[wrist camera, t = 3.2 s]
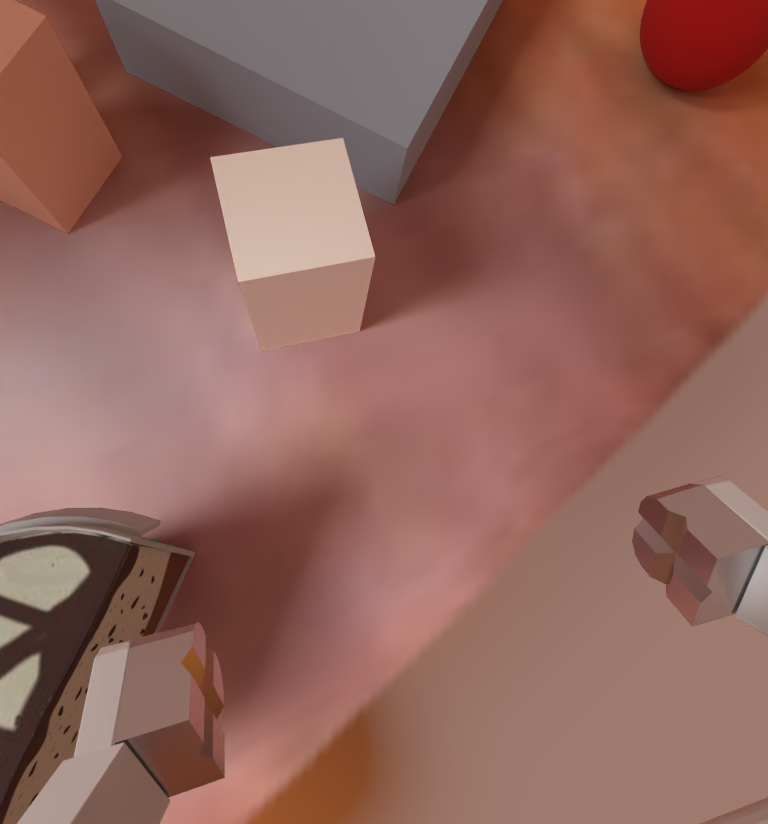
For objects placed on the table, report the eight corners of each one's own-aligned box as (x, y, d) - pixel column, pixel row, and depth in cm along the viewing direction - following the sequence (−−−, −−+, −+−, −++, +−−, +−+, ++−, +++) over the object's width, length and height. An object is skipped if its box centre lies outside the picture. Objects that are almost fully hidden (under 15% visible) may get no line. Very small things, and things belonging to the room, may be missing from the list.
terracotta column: (-24, 188, 27) (-165, 51, 19) (34, 113, 28) (-77, -46, 20) (68, 234, 27) (-35, 116, 19) (122, 156, 28) (46, 15, 20)
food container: (84, 470, 25) (-69, 436, 15) (210, 520, 25) (140, 520, 15) (-66, 751, 22) (-374, 937, 12) (78, 806, 22) (-114, 1032, 12)
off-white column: (261, 352, 27) (238, 282, 19) (240, 260, 28) (210, 157, 20) (359, 331, 28) (375, 256, 20) (336, 243, 28) (343, 137, 21)
